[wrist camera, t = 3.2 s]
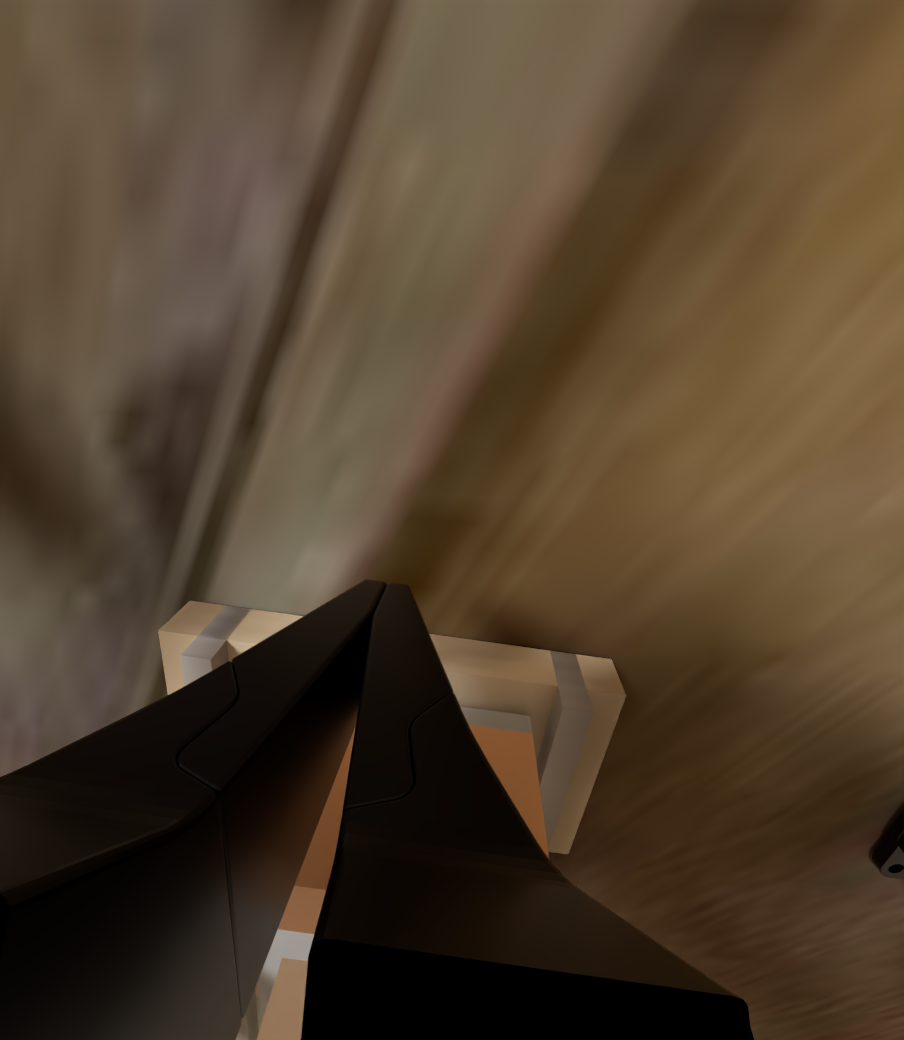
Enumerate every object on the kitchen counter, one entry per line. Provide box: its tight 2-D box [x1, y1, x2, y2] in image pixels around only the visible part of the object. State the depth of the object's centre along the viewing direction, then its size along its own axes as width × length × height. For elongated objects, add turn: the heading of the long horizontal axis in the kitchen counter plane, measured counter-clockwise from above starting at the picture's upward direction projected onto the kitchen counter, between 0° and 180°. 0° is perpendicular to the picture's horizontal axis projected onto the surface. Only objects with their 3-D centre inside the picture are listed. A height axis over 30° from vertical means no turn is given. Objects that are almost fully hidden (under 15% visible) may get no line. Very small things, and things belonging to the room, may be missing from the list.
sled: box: [257, 706, 549, 1040], centre depth 14 cm, size 8×18×5 cm, turn 173°
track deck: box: [158, 601, 626, 1040], centre depth 18 cm, size 13×26×2 cm, turn 173°
